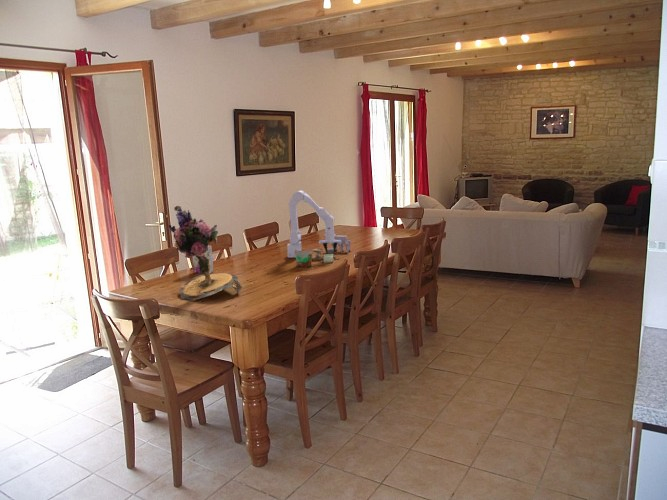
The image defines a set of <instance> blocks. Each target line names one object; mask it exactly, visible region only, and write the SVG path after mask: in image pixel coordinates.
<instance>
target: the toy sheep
mask: <svg viewBox="0 0 667 500" xmlns="http://www.w3.org/2000/svg"><path fill="white" fill-rule="evenodd" d="M323 237H325V238H326V235H325V233H324V234H323ZM348 239H349V238H348V235H336V232H335V231H334V240H341V243H337V246H336V249H335V251H338V247H339V251H340V253H343V251H344V247H345V251H346V253H348V254H349V251H351V246H352V245H351V244H352V240H348ZM330 244H331V246H332V248H333V250H334V247H333V243H330Z"/></svg>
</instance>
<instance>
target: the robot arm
mask: <svg viewBox="0 0 667 500" xmlns="http://www.w3.org/2000/svg"><path fill="white" fill-rule="evenodd" d="M301 201H302V203H307V204H308V205H309V206H311V208H313V209H314V210H315V214H316V215H317V216H318V217H319V218H320V219H321V220H323V223H324V225H325V229H324V230H325V233H324V234H325V235H326V237H325V239H322V240H319V241H318V245H322V246H323V248H324V250H325V253H326V254H327V248H328V244H332V243H333V246H332V248H333V247H334V252H333V253H334V255H335V252H336V250H335V249H336V246H337V247H338V244H337V243H341V240H334V232H335V227H334V226H335V225H334V222H335V218H334V216H333V215H332V214H331V213H328V211H327V210H326V207H322V206H321V207H320V206H319V205H318V204H317V203H316V202H315V201H314V199H313V198H312V197H311V196H310V195H309V194H308V193H306V191H304V190H301V189H300V190H298V191H295V192H294V193H293V194H292V195H291V197H290V200H289V202H288V209H289V210H288V211H289V219H290V221H289V222H290V236H289V242H290V243H287V244H286V245H287V246H286V248H287V258H296V255H295V254H294V252H295V249H296V250H297V251H303V250H302V241H301V240H302V234H301V231H300V229H299V220H298V208H297V205H298V204H299V203H300V202H301Z"/></svg>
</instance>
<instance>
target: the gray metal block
mask: <svg viewBox="0 0 667 500" xmlns="http://www.w3.org/2000/svg"><path fill="white" fill-rule="evenodd" d="M333 252H334V250H333V247H331V248H328V247H327V254H333V258H334V257H335V254H334V253H333Z"/></svg>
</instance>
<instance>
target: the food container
mask: <svg viewBox="0 0 667 500" xmlns="http://www.w3.org/2000/svg"><path fill="white" fill-rule="evenodd" d="M313 253H314V252H313V249H312V250H302V251H297V250H296V249H295V252H294V254H295V255H296V257H295V261H296V266H297V267H298V268H309V267H312V260H313V259H312V257H313V256H312V255H313Z"/></svg>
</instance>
